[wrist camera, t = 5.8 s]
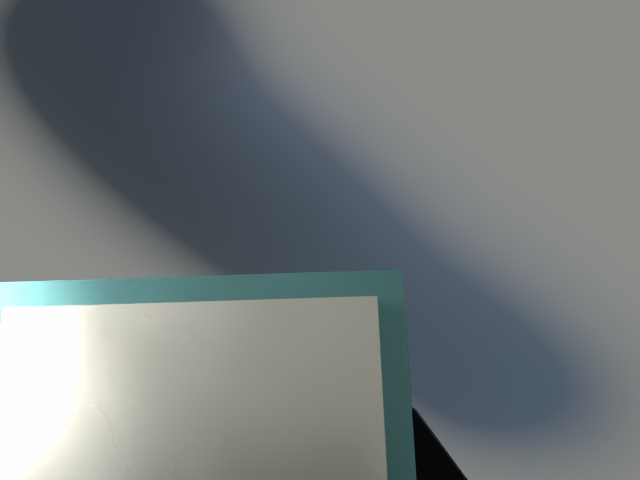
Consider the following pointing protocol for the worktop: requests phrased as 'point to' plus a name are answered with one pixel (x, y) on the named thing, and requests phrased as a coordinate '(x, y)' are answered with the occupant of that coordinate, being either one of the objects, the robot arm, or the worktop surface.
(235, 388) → the tea tin
